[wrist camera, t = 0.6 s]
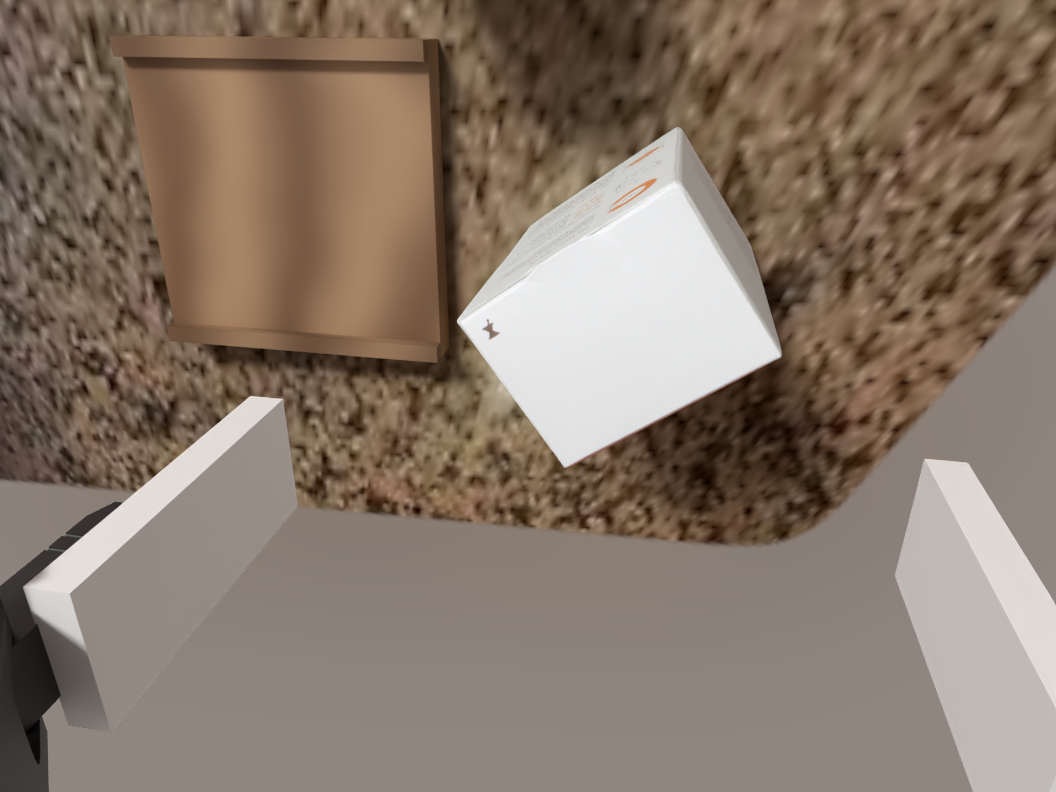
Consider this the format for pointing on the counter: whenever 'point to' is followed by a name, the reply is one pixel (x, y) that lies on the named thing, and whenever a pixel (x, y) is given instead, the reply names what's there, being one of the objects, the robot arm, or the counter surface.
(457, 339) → the counter surface
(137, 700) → the robot arm
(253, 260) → the walnut board
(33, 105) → the counter surface
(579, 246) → the small box
